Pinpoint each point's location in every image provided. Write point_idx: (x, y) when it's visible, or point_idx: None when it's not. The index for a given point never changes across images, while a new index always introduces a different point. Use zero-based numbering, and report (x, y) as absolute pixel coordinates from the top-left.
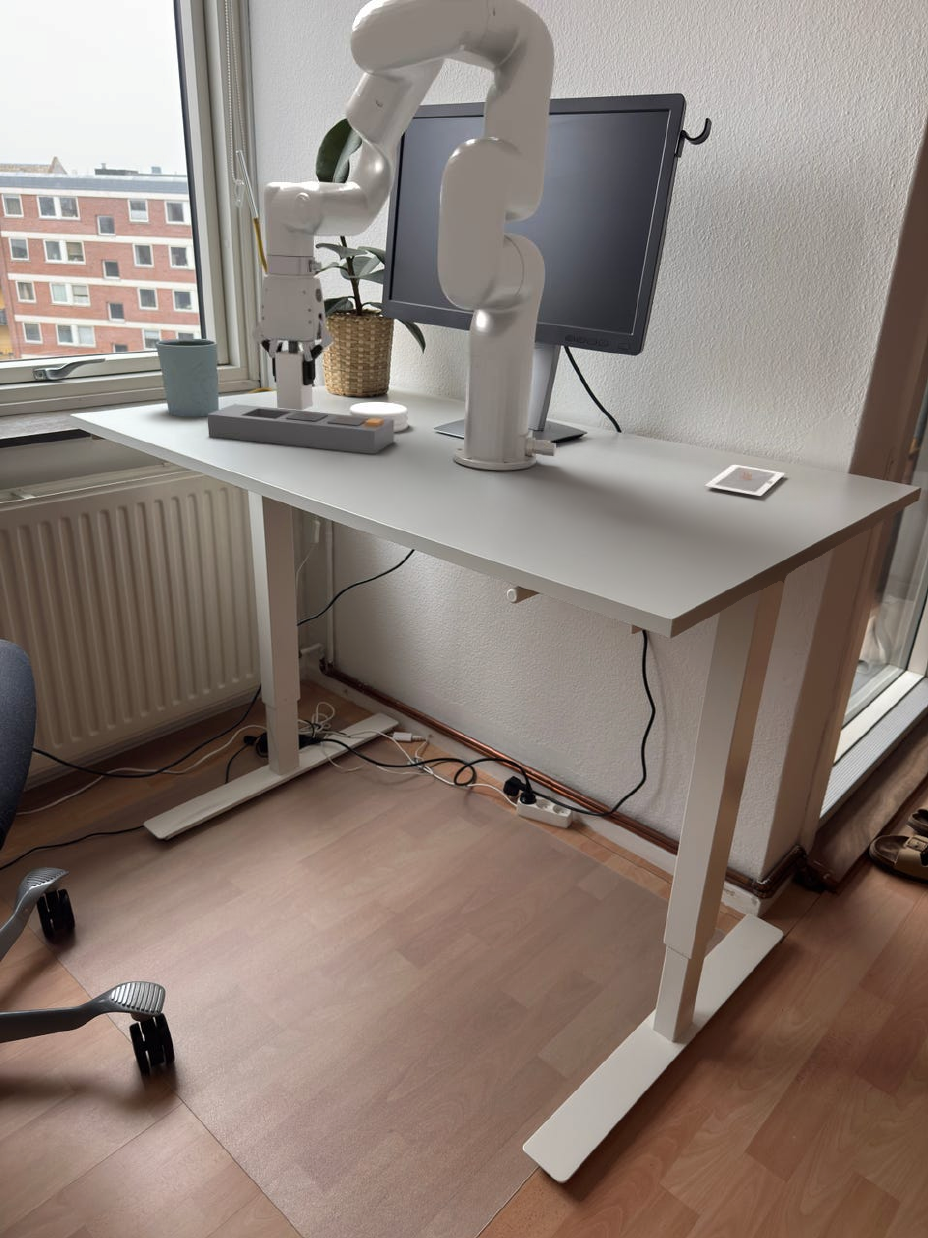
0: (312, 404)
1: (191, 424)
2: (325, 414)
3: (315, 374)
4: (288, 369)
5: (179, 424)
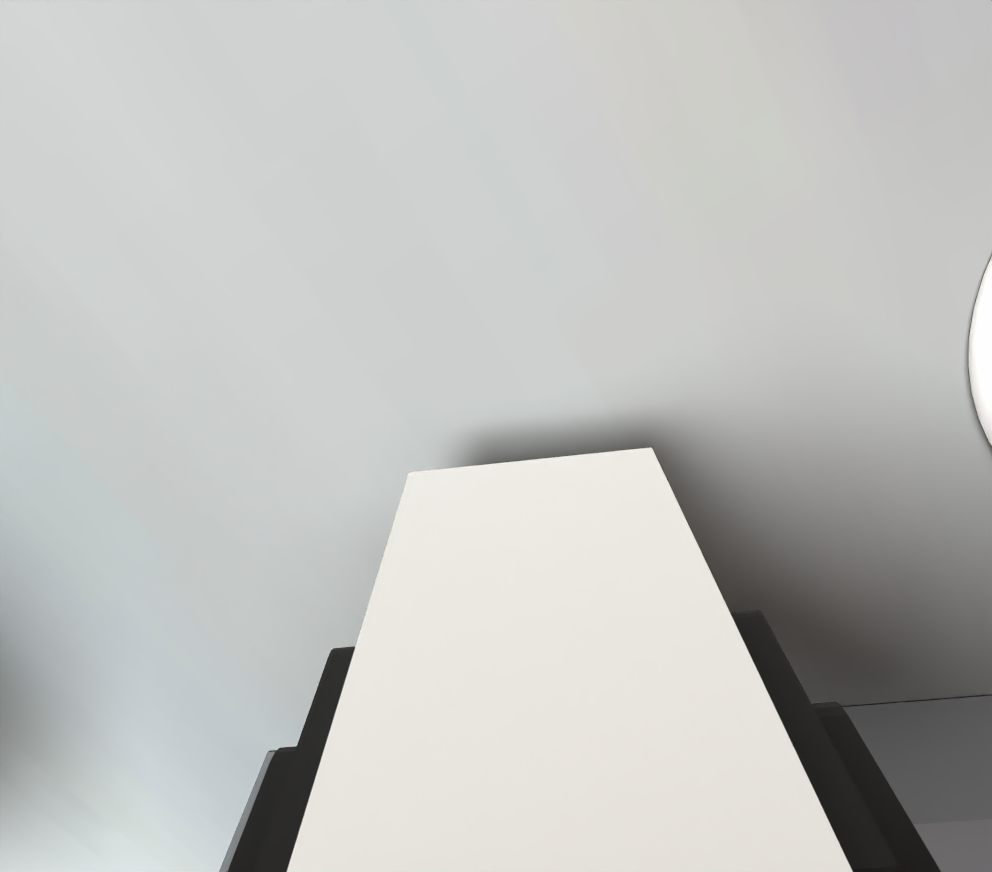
0: (654, 455)
1: (55, 838)
2: (987, 853)
3: (854, 731)
4: None
5: (8, 863)
